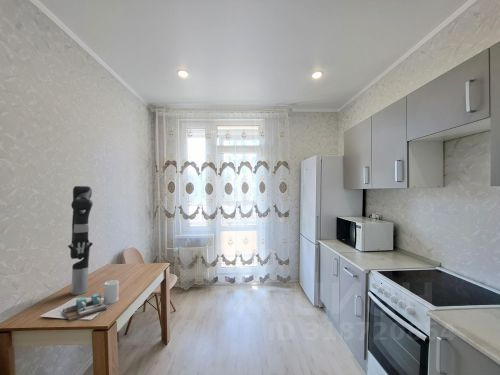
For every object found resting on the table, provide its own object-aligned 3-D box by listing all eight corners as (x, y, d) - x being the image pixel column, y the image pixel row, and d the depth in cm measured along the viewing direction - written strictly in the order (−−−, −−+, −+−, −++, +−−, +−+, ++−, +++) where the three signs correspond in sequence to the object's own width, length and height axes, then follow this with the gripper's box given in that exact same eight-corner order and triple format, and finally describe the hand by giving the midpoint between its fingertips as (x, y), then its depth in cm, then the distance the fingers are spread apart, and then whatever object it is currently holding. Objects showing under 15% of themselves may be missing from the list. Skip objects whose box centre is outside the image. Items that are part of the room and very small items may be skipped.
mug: (109, 296, 158) (109, 278, 159) (122, 295, 159) (123, 278, 160) (100, 304, 147) (101, 285, 147) (115, 303, 148) (116, 284, 148)
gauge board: (62, 311, 137) (63, 306, 137) (98, 301, 150) (98, 296, 151) (69, 321, 126) (69, 315, 126) (106, 309, 140) (106, 304, 140)
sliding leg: (76, 307, 139) (76, 298, 140) (83, 304, 142) (84, 296, 143) (80, 313, 133) (80, 304, 133) (88, 310, 136) (89, 301, 136)
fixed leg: (91, 302, 145) (91, 294, 145) (98, 300, 148) (98, 292, 148) (96, 308, 139) (96, 299, 139) (103, 305, 142) (104, 297, 142)
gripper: (91, 229, 152) (90, 256, 152) (66, 231, 142) (65, 260, 142) (95, 230, 147) (94, 258, 147) (69, 233, 137) (68, 262, 137)
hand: (79, 259), depth 144 cm, fingers closed
